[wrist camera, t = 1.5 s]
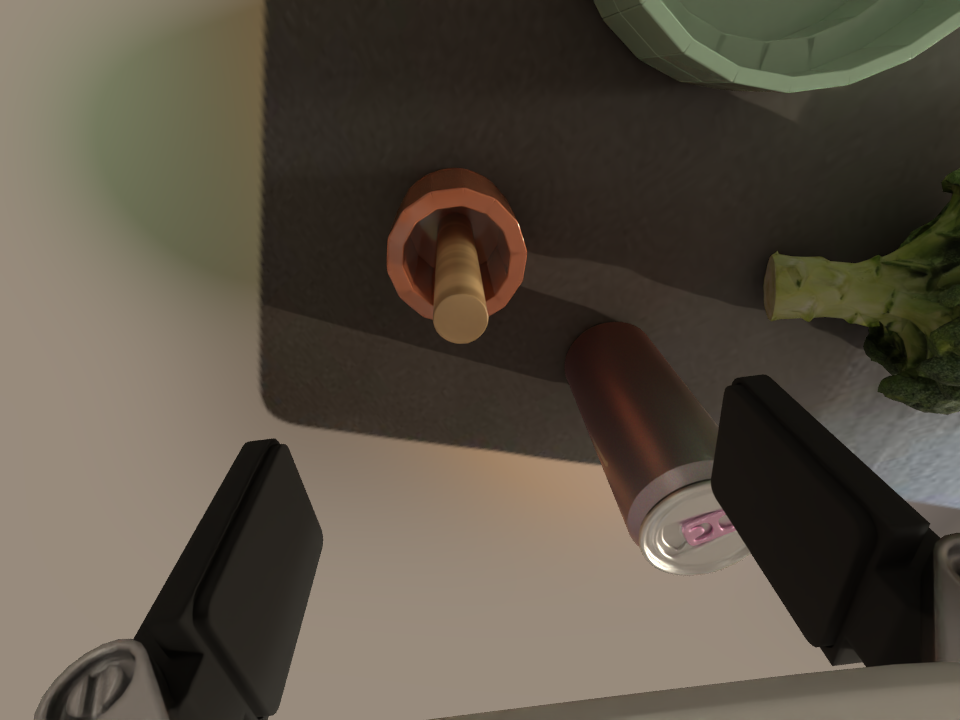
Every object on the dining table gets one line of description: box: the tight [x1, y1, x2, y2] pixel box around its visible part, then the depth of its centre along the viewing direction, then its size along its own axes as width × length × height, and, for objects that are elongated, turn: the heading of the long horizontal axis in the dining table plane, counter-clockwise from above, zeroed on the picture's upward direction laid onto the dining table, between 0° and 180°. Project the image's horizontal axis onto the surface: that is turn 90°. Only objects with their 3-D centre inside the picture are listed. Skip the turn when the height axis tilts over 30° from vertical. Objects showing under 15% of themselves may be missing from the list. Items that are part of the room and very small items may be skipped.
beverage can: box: [565, 322, 751, 576], centre depth 27 cm, size 6×6×15 cm
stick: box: [433, 213, 488, 344], centre depth 23 cm, size 2×2×12 cm
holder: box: [387, 168, 527, 320], centre depth 26 cm, size 7×7×6 cm
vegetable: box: [763, 169, 960, 415], centre depth 27 cm, size 12×13×15 cm
